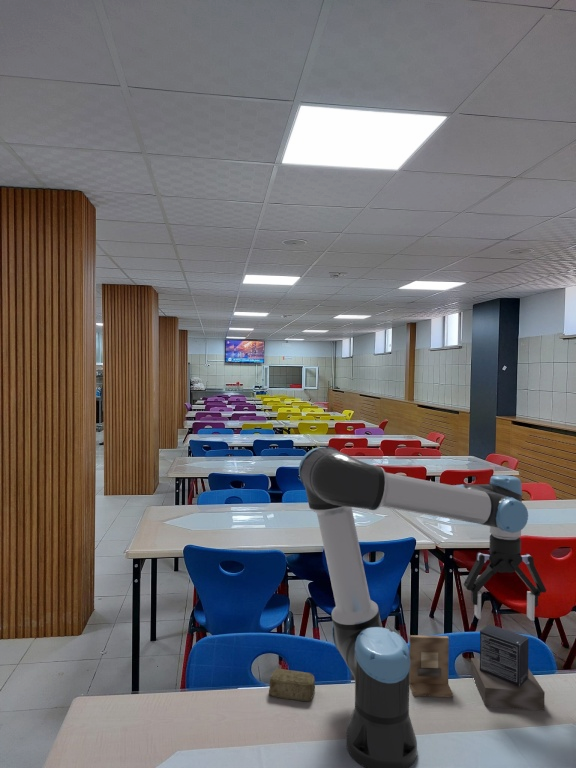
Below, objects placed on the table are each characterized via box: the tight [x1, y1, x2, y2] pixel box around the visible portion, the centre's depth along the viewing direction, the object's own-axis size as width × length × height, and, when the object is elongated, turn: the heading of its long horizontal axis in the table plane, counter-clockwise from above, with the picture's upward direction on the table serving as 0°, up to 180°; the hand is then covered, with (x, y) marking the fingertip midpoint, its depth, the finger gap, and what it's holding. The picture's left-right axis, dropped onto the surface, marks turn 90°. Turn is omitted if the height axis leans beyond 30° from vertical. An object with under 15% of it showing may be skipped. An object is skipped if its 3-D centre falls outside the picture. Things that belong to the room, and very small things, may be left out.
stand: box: [409, 634, 454, 698], centre depth 132 cm, size 10×6×13 cm, turn 88°
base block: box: [470, 657, 546, 712], centre depth 131 cm, size 14×14×5 cm
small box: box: [479, 623, 530, 686], centre depth 131 cm, size 11×6×10 cm, turn 45°
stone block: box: [268, 668, 316, 702], centre depth 129 cm, size 6×12×5 cm, turn 78°
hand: (504, 617), depth 131 cm, fingers open, 13 cm apart
